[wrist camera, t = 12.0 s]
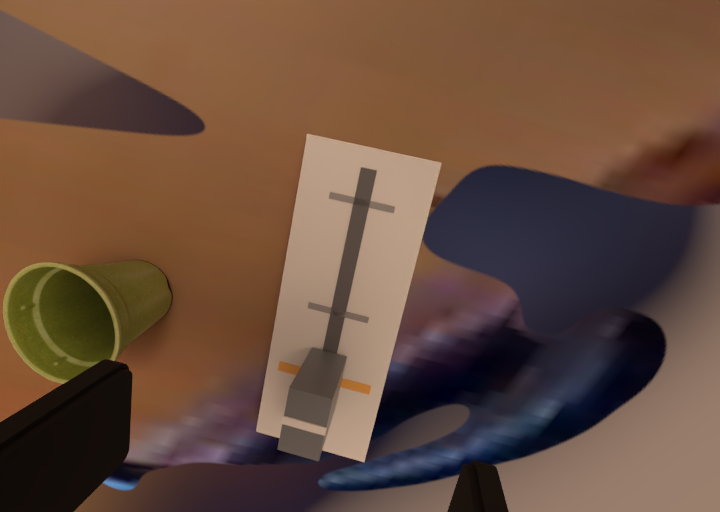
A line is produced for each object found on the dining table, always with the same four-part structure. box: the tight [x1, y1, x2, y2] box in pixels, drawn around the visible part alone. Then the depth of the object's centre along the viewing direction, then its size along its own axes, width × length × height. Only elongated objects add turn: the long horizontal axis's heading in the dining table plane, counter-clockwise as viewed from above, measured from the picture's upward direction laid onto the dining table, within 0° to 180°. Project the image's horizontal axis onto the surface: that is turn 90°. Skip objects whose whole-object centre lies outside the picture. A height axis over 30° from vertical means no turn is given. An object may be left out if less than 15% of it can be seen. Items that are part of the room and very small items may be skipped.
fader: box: [277, 347, 347, 461], centre depth 28 cm, size 3×5×6 cm, turn 168°
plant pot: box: [3, 260, 172, 384], centre depth 31 cm, size 9×9×9 cm
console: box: [256, 134, 442, 462], centre depth 31 cm, size 10×26×3 cm, turn 168°
